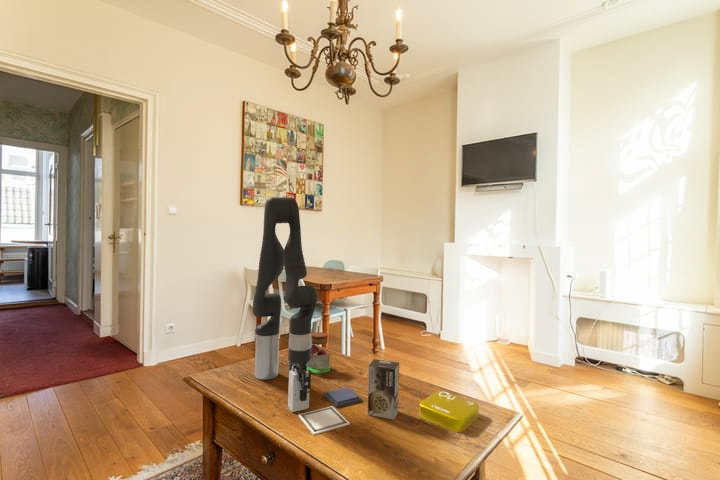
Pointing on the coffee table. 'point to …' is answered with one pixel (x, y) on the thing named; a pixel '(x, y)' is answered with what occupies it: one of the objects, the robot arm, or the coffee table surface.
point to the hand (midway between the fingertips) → (298, 395)
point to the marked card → (323, 420)
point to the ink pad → (342, 397)
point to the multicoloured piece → (319, 354)
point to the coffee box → (383, 388)
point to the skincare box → (296, 394)
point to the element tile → (449, 411)
